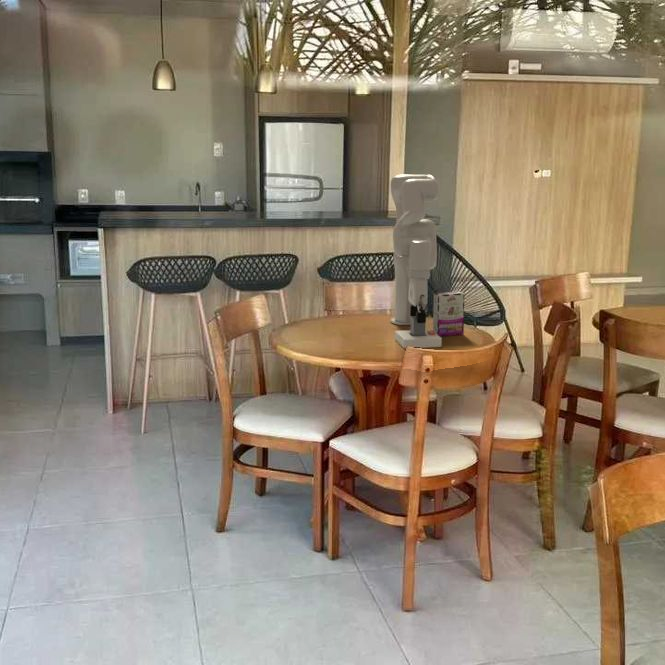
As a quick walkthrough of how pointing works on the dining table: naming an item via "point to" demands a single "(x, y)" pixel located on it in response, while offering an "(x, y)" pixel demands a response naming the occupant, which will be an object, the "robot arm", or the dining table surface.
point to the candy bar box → (448, 313)
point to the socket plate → (418, 339)
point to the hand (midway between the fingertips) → (417, 319)
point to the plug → (417, 327)
